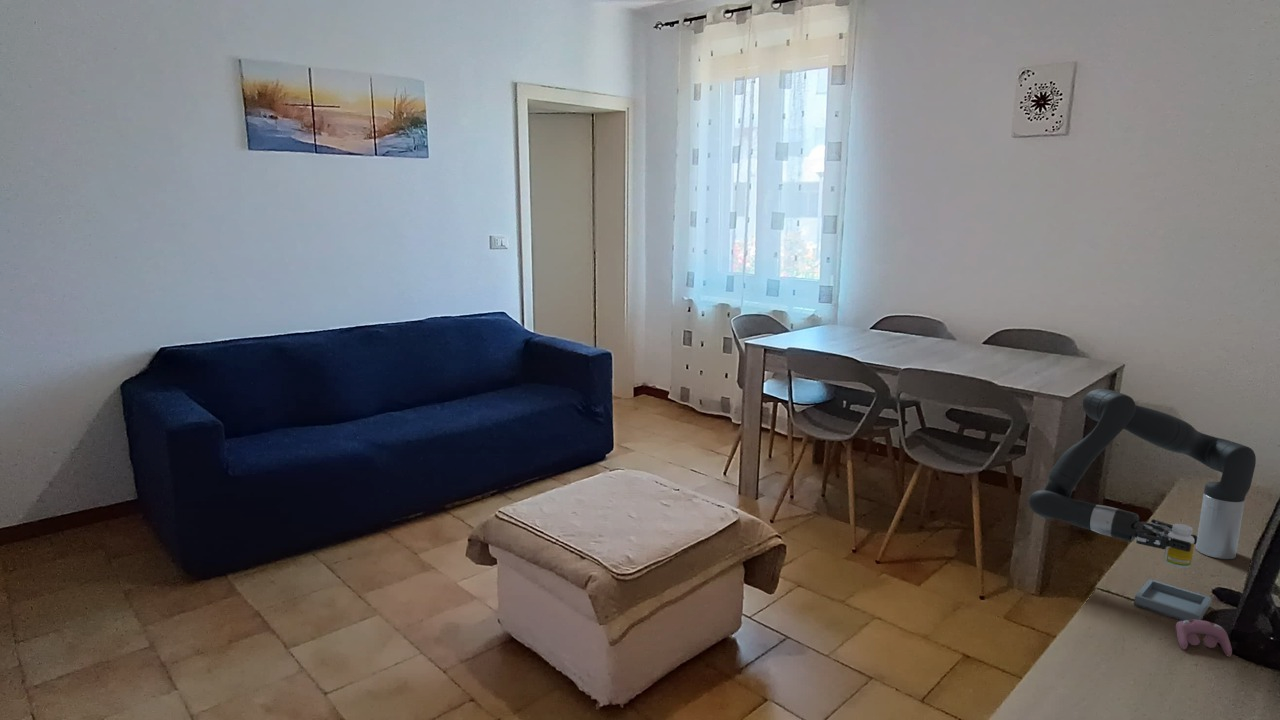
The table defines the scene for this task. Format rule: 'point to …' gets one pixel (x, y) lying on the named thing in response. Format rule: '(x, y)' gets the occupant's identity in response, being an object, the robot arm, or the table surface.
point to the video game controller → (1212, 631)
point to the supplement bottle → (1176, 555)
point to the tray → (1172, 601)
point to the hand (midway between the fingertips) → (1193, 543)
